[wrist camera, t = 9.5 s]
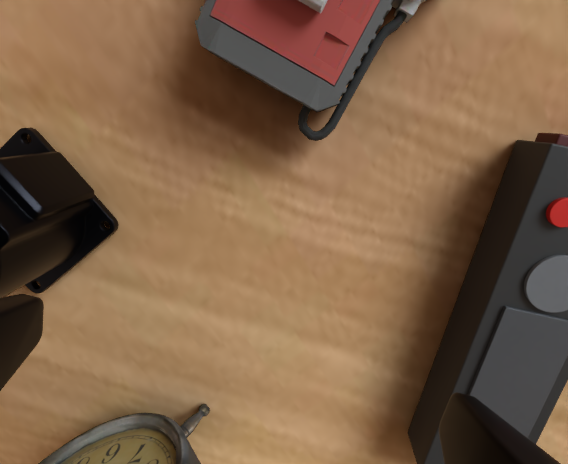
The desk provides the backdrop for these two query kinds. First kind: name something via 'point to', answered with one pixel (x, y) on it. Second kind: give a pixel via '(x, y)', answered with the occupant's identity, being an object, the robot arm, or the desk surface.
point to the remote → (509, 305)
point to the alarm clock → (132, 442)
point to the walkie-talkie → (302, 45)
